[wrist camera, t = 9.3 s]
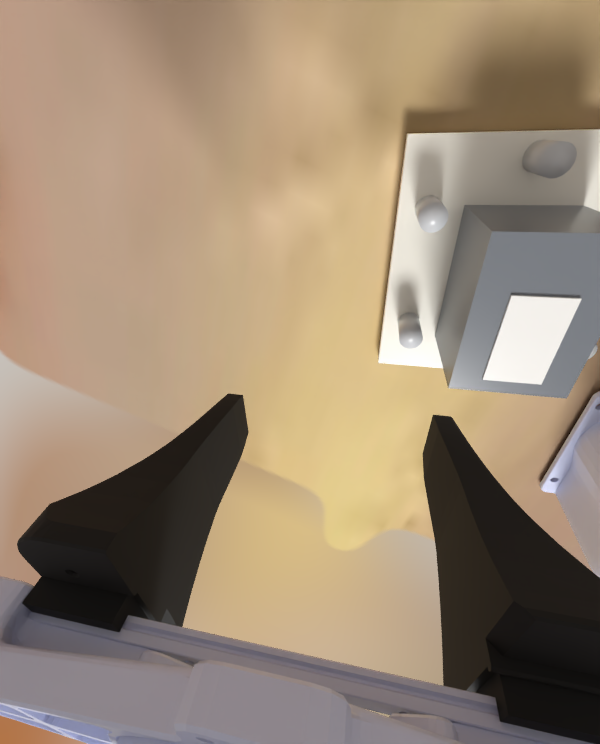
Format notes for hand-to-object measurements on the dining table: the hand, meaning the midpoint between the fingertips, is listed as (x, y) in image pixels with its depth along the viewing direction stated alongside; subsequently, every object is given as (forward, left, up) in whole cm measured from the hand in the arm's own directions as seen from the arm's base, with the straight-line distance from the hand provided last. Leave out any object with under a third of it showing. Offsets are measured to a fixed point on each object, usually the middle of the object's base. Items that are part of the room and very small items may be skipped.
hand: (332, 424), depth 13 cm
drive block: (+3, -8, -9) cm, 12 cm away
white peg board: (+3, -8, -10) cm, 13 cm away
